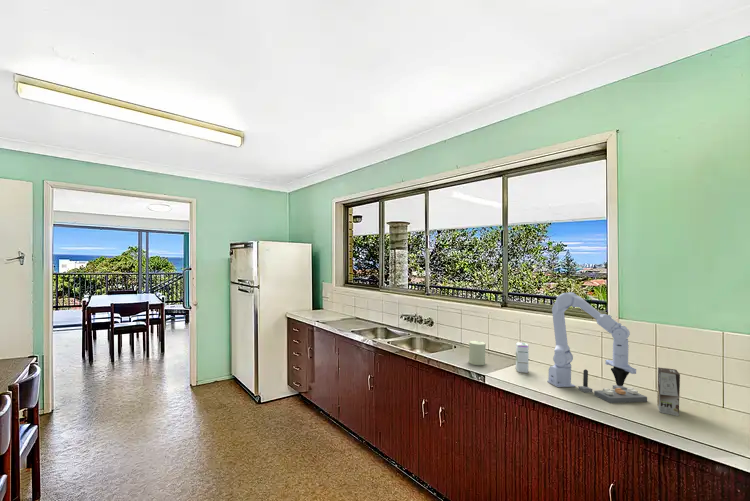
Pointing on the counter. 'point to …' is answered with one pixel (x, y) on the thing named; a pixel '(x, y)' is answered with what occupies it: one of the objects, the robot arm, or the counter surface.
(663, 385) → the coffee box
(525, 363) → the syrup box
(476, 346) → the can
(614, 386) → the grey post with base
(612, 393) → the left paddle
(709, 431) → the counter surface
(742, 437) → the counter surface
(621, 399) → the switch panel
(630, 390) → the right paddle
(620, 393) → the middle paddle
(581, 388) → the grey peg stand
